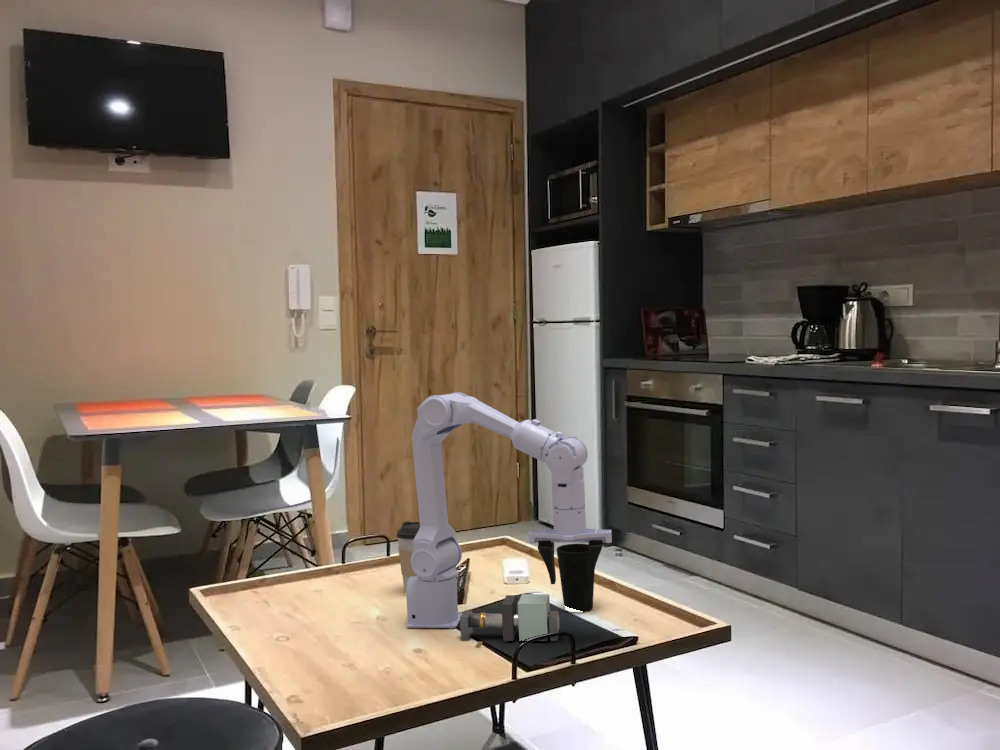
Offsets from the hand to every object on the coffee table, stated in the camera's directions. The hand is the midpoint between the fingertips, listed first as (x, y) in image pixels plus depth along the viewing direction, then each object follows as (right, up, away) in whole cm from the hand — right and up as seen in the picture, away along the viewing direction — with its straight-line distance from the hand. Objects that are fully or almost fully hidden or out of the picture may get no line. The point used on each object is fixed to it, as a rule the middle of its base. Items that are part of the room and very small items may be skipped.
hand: (572, 582), depth 153 cm
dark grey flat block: (-11, -10, +2) cm, 15 cm away
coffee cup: (-30, -10, +34) cm, 46 cm away
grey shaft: (-11, -10, +1) cm, 15 cm away
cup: (+3, -9, +17) cm, 20 cm away
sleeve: (-6, -10, +2) cm, 12 cm away
